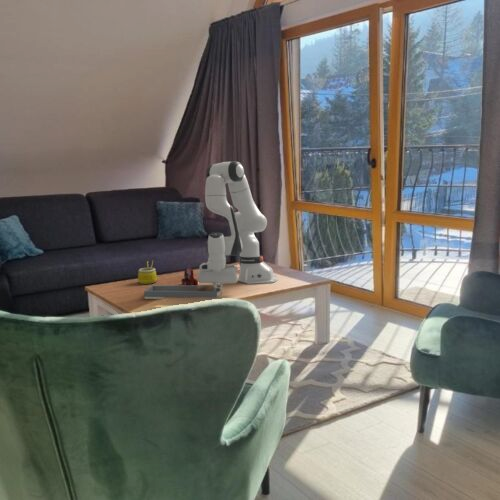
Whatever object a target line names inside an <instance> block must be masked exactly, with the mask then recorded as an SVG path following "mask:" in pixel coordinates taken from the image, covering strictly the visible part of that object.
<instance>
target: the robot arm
mask: <svg viewBox="0 0 500 500" xmlns="http://www.w3.org/2000/svg"><path fill="white" fill-rule="evenodd" d="M205 177H206V180H205V187H204V199H205V206H206V208H207V209H208V210H209V211H210V212H211V213H214V214H217V215H219V216H222V217H224V218H226V219H227V220H228V225H229V228H230V234H231V235H230V236H224V233H222V232H218V231H215V232H211V233H209V234H208V238H207V240H206V242H205V245H206V246H205V247H206V250H205V251H206V253H207V254H208V258H207V261H205V262H202V263H201V264H200V265H199V270H198V274H197V281H198V284H212V285H213V286H214V288H215V291H221V292H222V287H223V286H224V284H236V283H237V282H240V283H244V284H246V285H247V284H248V285H249V284H254V285H255V284H271V283H272V284H273V283H276V282H277V281H278V279H279V278H278V276H277V275H275V274H274V270H273V268H272V267H271V266H269V264H267V263H265V262H264V257H263V255H260V242H259V240H258V238H257V237H256V235H255V233H261V232H263V231H265V230H266V228H267V226H268V220H267V217H266V216H265V215H264V214H262V212H261V211H260V209H259V208H258V206H257V205H256V202H255V201H254V199H253V195H252V192H251V188H250V185H249V182H248V179H247V177H246V174H245V168H244V165H243V164H242V163H241V162H239V161H235V160H234V161H222V162H219V163H212V164H211V165H208V166H207V168H206V170H205ZM226 184H227V185H228V191H229V193H230V197H231V201H232V204H233V205H231V204H230V203H229V202H228V198H227V189H226V188H227V187H226ZM233 206H234V207H233ZM234 208H236V209H237V212H235V209H234ZM226 256H238V264H239V265H238V266H239V271H238V266H237V265H235V264H227V257H226ZM238 272H239V273H238ZM217 284H219V286H220V287H217V286H218V285H217Z"/></svg>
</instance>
